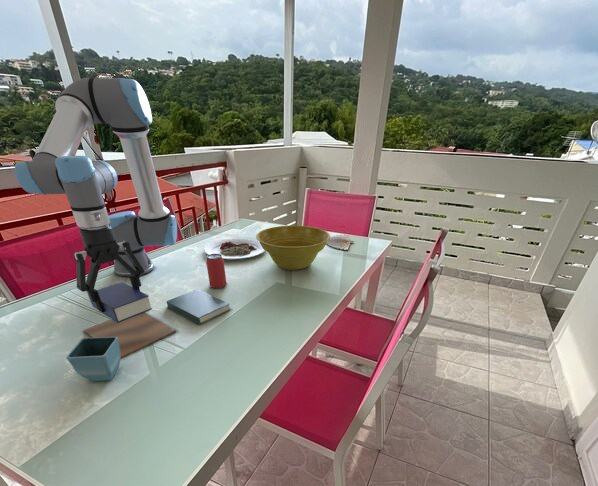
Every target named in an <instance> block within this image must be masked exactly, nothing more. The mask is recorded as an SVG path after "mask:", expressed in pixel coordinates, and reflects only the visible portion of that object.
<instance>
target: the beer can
mask: <svg viewBox="0 0 598 486" xmlns="http://www.w3.org/2000/svg"><path fill="white" fill-rule="evenodd" d="M224 260H225V259H223V258H222V255H220V254H210V255H208V254H207V255H206V260H205V263H206V269H207V276H208V277H207V278H208V281H209V286H210V287H211V288H213V289H223V288H224V287H226V286H227V284H228V283H227V276H226V268H225V261H224Z"/></svg>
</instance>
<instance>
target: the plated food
mask: <svg viewBox="0 0 598 486" xmlns="http://www.w3.org/2000/svg"><path fill="white" fill-rule="evenodd" d="M264 252H266V251H265V250H264V249H263V248H262V246H261V244H260V242H259V241H258V240H257V239H249V238H230V239H229V238H227V239H221V240H217V241H213V242H211V243H209V244H207V245H206V246H205V247H204V253H205V254H206V255H207V256H208V255H210V254H220V255H222V258H223V260H232V261H233V260H245V259H249V258H253V257H256V256H260V255H261V254H263V253H264Z"/></svg>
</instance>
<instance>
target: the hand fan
mask: <svg viewBox="0 0 598 486" xmlns="http://www.w3.org/2000/svg"><path fill="white" fill-rule="evenodd" d="M352 243H354V240H351V239H350V238H349V237H348V236H347V234H345V233H343V234H336V235H330V239H329V240H328V241H327V242H326V245H328V246H329V247H331V248H334V249H337V250H339V249H340V250H345V251H348V250H349V247H350V245H351V244H352Z"/></svg>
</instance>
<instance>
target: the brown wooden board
mask: <svg viewBox="0 0 598 486" xmlns="http://www.w3.org/2000/svg"><path fill="white" fill-rule="evenodd" d="M83 332H84V333H86V334H87V335H89V336H90V338H97V337H118V342H119V347H120V353H121V359H122V358H124V357H126V356H128V355H130V354H132V353H134V352H136V351H139V350H140V349H143V348H144V347H147V346H149V345H151V344H153V343H156V342H158V341H160V340H162V339H164V338H167V337H169V336H170V335H173V334H174V333H176V332H177V330H175V329H174V328H172V327H170V326H168V325H167V324H165V323H163V322H162V321H160V320H159V319H156V318H155V317H153V316H151V315H149V314H148V313H147V312H144V313H142V314H139V315H137V316H134V317H132V318H129V319H127V320H124V321H122V322H119V323H117V322H115V321H114V320H112V319H111V318H110V319H108V320H106V321H103V322H101V323H97V324H96V325H93V326H91V327H88V328H85V329H84V330H83Z"/></svg>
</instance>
